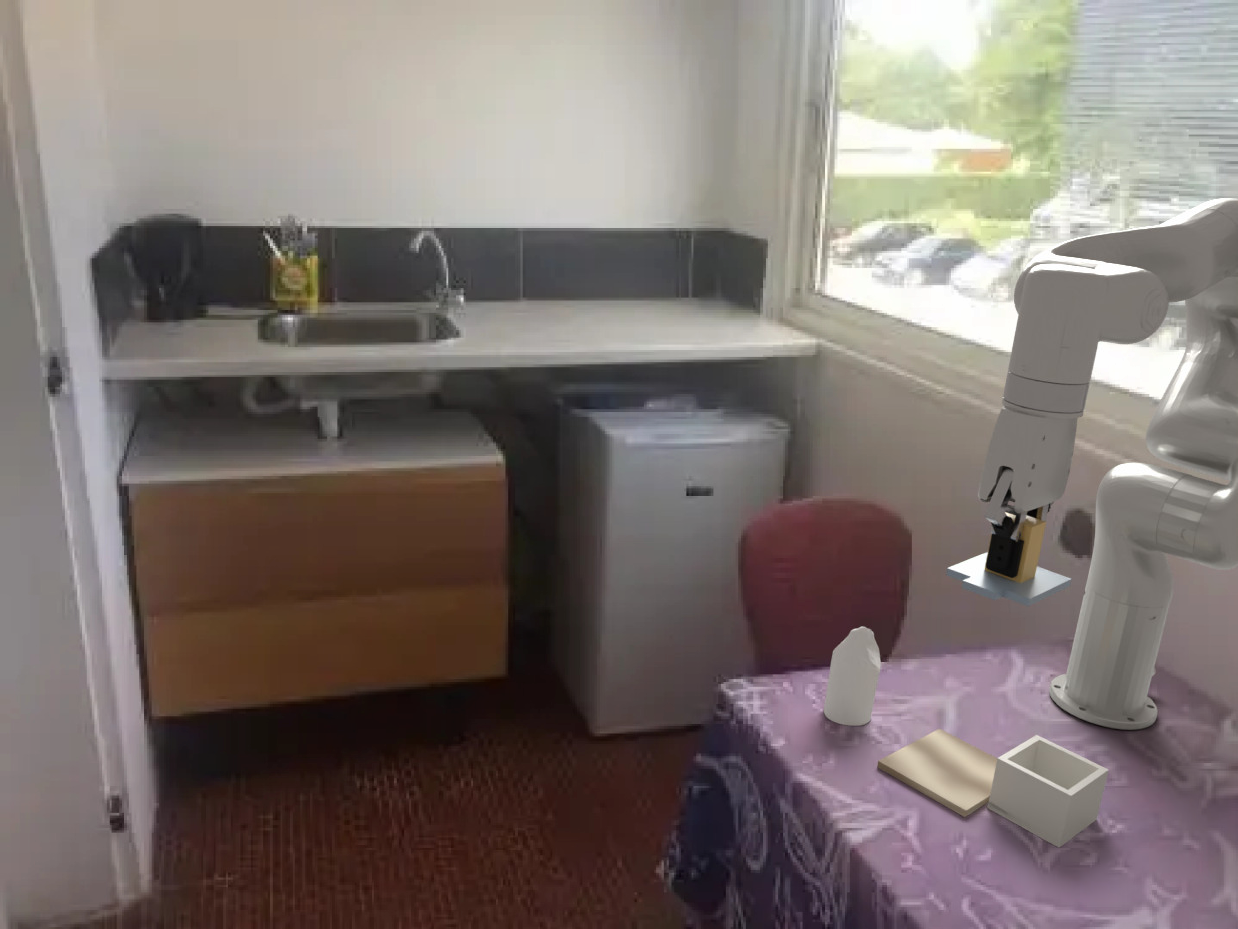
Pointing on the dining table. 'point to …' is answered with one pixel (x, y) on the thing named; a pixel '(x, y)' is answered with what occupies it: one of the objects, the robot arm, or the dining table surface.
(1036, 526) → the lid
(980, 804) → the board
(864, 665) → the white faceted top cylinder
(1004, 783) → the tub
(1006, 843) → the dining table surface
